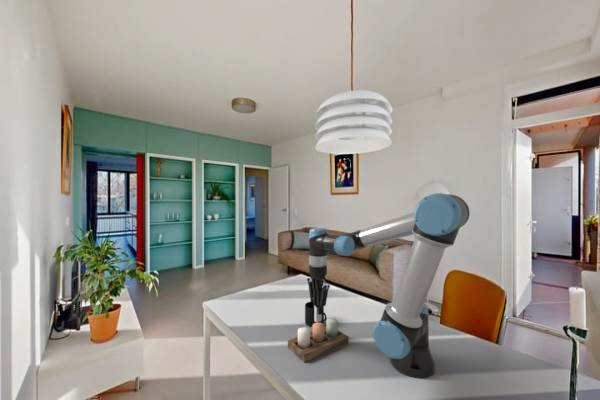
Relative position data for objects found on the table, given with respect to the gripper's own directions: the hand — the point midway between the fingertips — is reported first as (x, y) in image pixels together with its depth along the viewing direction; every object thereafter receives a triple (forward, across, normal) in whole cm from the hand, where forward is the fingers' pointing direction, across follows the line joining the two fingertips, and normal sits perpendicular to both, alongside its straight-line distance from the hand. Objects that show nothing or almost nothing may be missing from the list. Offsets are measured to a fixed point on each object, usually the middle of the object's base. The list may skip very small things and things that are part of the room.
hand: (317, 320), depth 107 cm
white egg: (+8, 0, +7) cm, 11 cm away
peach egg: (+8, 0, 0) cm, 8 cm away
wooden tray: (+10, 0, 0) cm, 10 cm away
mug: (+11, +16, -11) cm, 22 cm away
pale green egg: (+8, 0, -8) cm, 11 cm away
